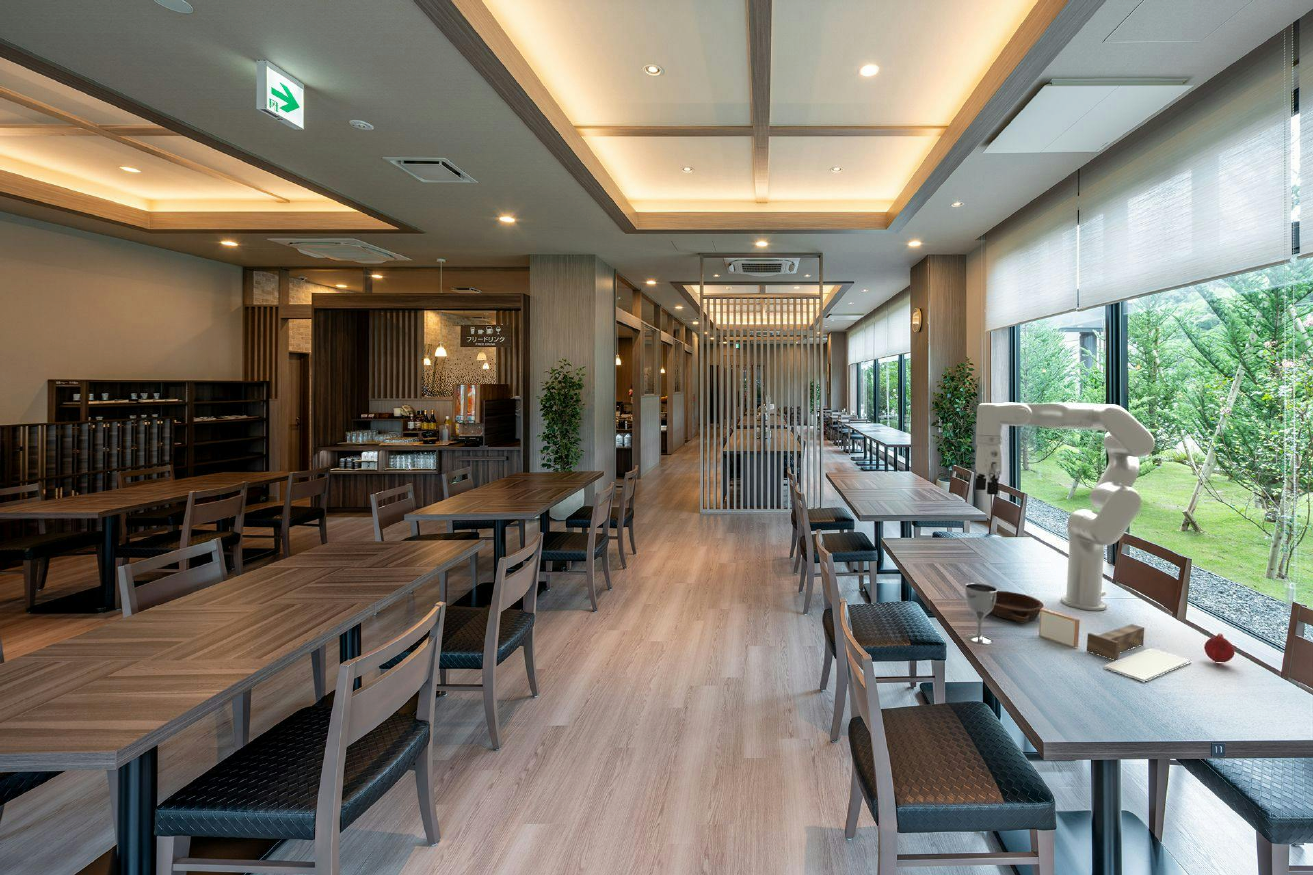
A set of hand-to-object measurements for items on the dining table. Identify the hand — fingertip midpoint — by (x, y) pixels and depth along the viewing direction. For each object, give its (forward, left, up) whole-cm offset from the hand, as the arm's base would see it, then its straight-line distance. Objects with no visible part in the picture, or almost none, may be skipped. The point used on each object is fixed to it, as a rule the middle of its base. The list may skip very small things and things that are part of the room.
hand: (986, 491), depth 209 cm
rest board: (+9, +52, -37) cm, 64 cm away
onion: (-9, +60, -37) cm, 71 cm away
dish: (+3, +12, -38) cm, 40 cm away
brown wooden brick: (+3, +43, -37) cm, 57 cm away
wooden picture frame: (+13, +32, -37) cm, 51 cm away
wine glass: (+31, +21, -37) cm, 53 cm away
